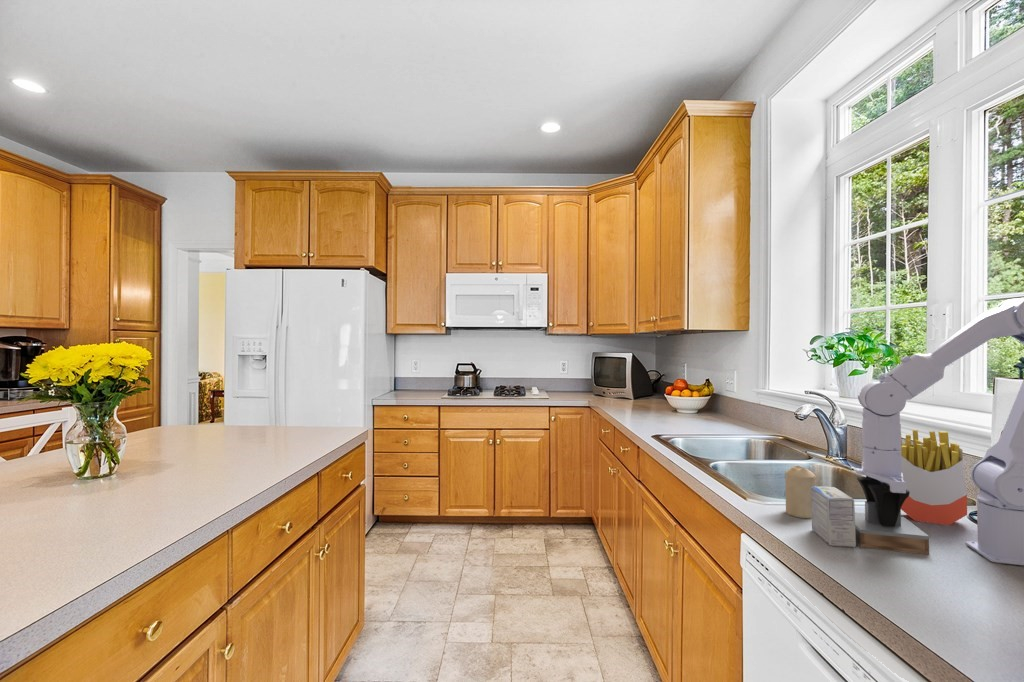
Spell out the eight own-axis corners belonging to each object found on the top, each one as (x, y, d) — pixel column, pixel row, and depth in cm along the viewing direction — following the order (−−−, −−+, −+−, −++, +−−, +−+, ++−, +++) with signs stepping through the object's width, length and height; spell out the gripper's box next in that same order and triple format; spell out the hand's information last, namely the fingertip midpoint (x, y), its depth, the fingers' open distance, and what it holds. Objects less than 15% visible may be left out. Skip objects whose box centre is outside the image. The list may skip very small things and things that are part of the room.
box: (903, 533, 93) (903, 519, 93) (929, 554, 83) (929, 539, 83) (842, 527, 96) (842, 514, 96) (860, 547, 87) (860, 533, 87)
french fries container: (968, 528, 95) (966, 435, 95) (898, 519, 100) (897, 431, 100) (959, 520, 99) (958, 432, 99) (893, 512, 104) (892, 428, 104)
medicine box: (856, 548, 86) (855, 499, 86) (828, 546, 87) (827, 497, 87) (836, 531, 94) (835, 486, 94) (810, 530, 95) (810, 485, 95)
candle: (822, 518, 101) (821, 470, 101) (796, 519, 101) (796, 470, 101) (804, 509, 107) (803, 463, 107) (780, 510, 106) (779, 464, 106)
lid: (903, 523, 93) (903, 498, 93) (929, 543, 83) (928, 515, 83) (842, 517, 96) (842, 493, 96) (860, 536, 87) (860, 509, 87)
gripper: (843, 439, 98) (844, 506, 98) (870, 454, 84) (871, 533, 84) (885, 441, 96) (886, 510, 96) (920, 457, 82) (921, 538, 82)
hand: (882, 521), depth 90 cm, fingers open, 4 cm apart
